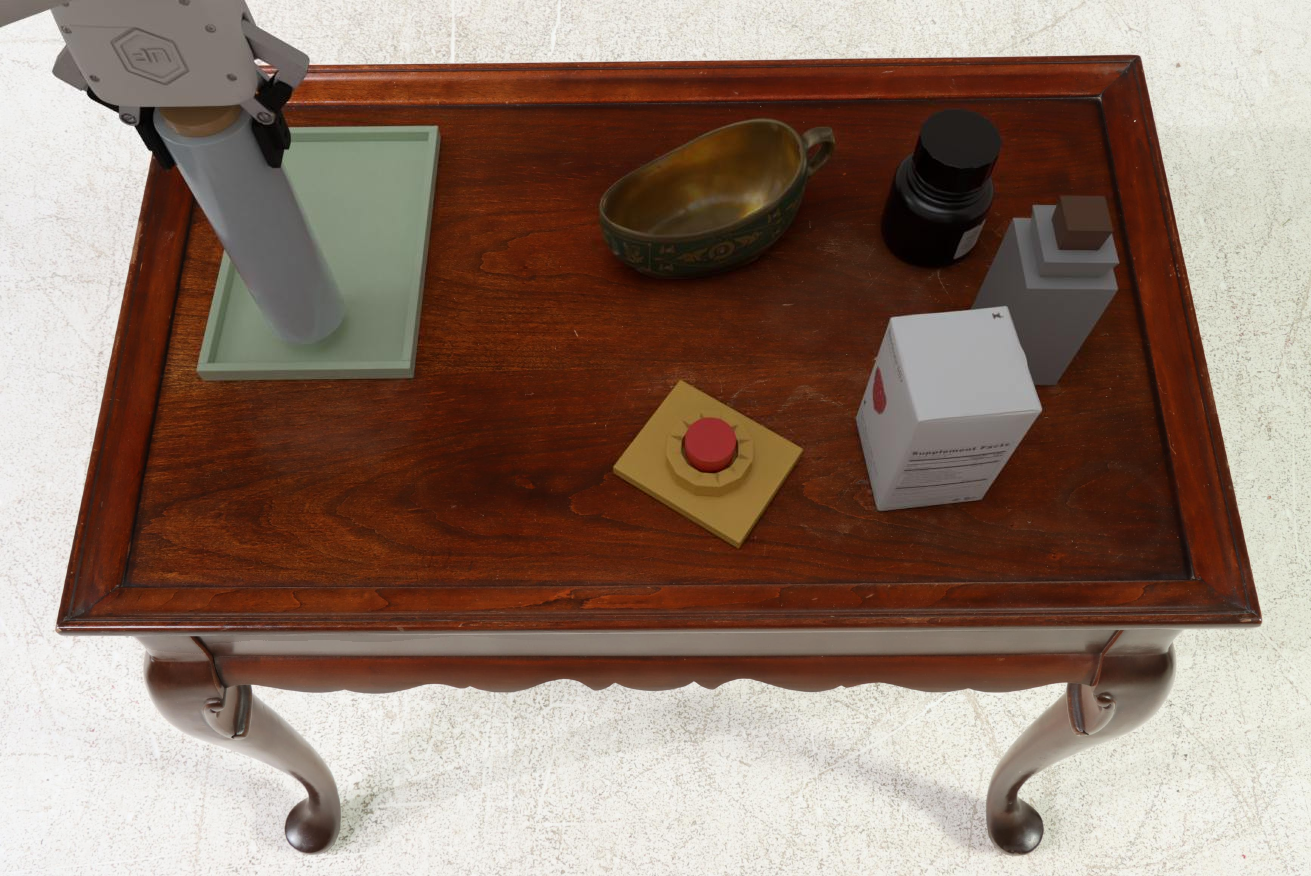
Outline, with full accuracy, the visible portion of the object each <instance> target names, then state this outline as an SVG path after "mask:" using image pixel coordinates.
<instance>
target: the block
mask: <svg viewBox="0 0 1311 876" xmlns="http://www.w3.org/2000/svg"><path fill="white" fill-rule="evenodd" d="M708 417H712V418H718V419H721V420H723V421H725V422H726V423H728V424H729V425H730V426H731V428H732V429H733V431H734V433H735V435H736V446H735V453H734V457H733V459H732V461H731V462H730V463H729V464H728V465H727V466H726V467H725V468H723V469H721V470H718V471H713V472H708V471H702V470H700V469H697V468H696V467H694V466H693V465H692V464H691V463H690V462H689V461H688V459H687V457H686V455H685V435H686V432H687V430H688V428H689V427H690V426H691V425H692V424H693V423H694V422H696V421H697V420H699V419H702V418H708ZM803 453H804V449H803V448H802V447H800V446H799V445H797V444H795V443H793V442H792V441H790V440H788V439H786V438H784V437H783V436H781V435H779V434H777V433H776V432H774V431H772V430H770V429H768V427H766V426H764V425H761V424H760V423H758V422H756V421H755V420H753V419H751V418H749V417H748V416H745V414H742V413H741V412H739V411H737V410H735V409H733V408H731V407H729V406H728V405H726V404H724V403H722V402H720V401H719V400H718V399H716V398H714V397H712V396H710V395H708V394H707V393H705V392H703V391H702V390H700V389H697V387H695V386H692V385H691V384H689V383H687V382H685V381H684V380H682V379H679V381H677V383H676V384H675V386H674V388H673V389H672V390H671V391H670V392H669V394H668V395H667V396H666V398H665V399H663V401H662V403H661V404H660V405H659V406H658V408H657V409H656V410H655V412H654V413H653V414H652V415H651V417H650V418H649V419H648V421H647V422H646V423H645V425H644V426H643V427H642V429H641V430H640V431H639V432H638V434H637V435H636V436H635V438H633V441H631V443H630V444H629V445H628V447H627V448H626V449H625V451H624V452H623V453H622V455H621V456H620V457H619V458H618V460H617V461H616V462H615V464H614V465H613V466H612V469H613V474H614V475H616V476H617V477H619V478H620V479H622V480H624V481H626V482H627V483H629V484H631V485H632V486H633V487H636V489H638V490H641V491H642V492H644V493H646V494H647V495H648V496H651V497H652V498H654V499H656V500H657V501H659V502H660V503H662V504H663V505H665V506H666V507H668V508H670V509H672V510H673V511H675V512H677V513H678V514H680V515H682V516H683V517H685V518H687V519H688V520H690V521H691V522H693V523H695V524H696V525H698V526H700V527H702V529H703V528H704V529H705V530H707V531H708V532H710V533H711V534H713V535H715V536H716V537H718V538H720V539H721V540H723V541H725V542H726V543H728V544H729V545H731V546H733V547H734V548H736V549H740V548H741V546H742V545H743V543H744V542H745V541H746V539H747V538H748V536H749V534H750V533H751V532H752V530H753V528H754V527H755V526H756V524H757V523H758V521H759V520H760V518H761V517H762V515H763V514H764V512H765V511H766V510H767V508H768V507H769V505H770V504H771V502H772V501H773V499H774V498H775V496H776V495H777V493H778V492H779V490H780V489H781V487H782V486H783V485H784V483H785V482H786V480H787V478H788V477H789V475H790V474H791V472H792V471H793V469H794V468H795V467H796V465H797V463H798V462H799V461H800V459H801V458H802V456H803Z"/></svg>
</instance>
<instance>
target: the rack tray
mask: <svg viewBox="0 0 1311 876" xmlns="http://www.w3.org/2000/svg"><path fill="white" fill-rule="evenodd" d="M288 128H289V130H290V134H291V144H290V148H289V150H284V155H283V162H284V165H285V167H286V169H287V171H288V174H289V176H290V178H291V181H292V183H293V185H294V187H295V190H296V192H297V194H298V196H299V199H300V201H301V203H302V205H303V208H304V210H305V212H306V214H307V217H308V219H309V221H310V224H311V226H312V228H313V230H314V233H315V235H316V237H317V239H318V242H319V244H320V246H321V248H322V251H323V253H324V255H325V258H326V260H327V262H328V264H329V267H330V269H331V271H332V273H333V276H334V278H335V280H336V282H337V285H338V287H339V289H340V291H341V294H342V296H343V298H344V301H345V315H344V318H343V320H342V322H341V324H340V325H339V327H338V328H337V329H336V330H335V331H334V332H333V333H332V334H330V335H329V336H327V337H326V338H324V339H322V340H320V341H317V342H314V343H310V344H291V343H288V342H285V341H283V340H281V339H279V338H278V337H276V336H275V335H274V334H273V333H272V331H271V330H270V328H269V326H268V325H267V323H266V321H265V319H264V318H263V316H262V314H261V312H260V311H259V309H258V307H257V305H256V304H255V302H254V300H253V298H252V297H251V295H250V293H249V291H248V290H247V288H246V286H245V284H244V283H243V281H242V279H241V277H240V276H239V274H238V272H237V270H236V269H235V267H234V265H233V263H232V262H231V260H230V258H229V256H228V255H227V253H226V251H225V249H224V248H223V249H224V250H223V254H222V257H221V262H220V267H219V271H218V274H217V275H218V276H217V280H216V284H215V288H214V293H213V297H212V301H211V304H210V310H209V312H208V313H209V314H208V317H207V323H206V327H205V331H204V336H203V339H202V344H201V348H200V352H199V356H198V361H197V366H196V373H197V374H198V376H199V377H200V378H201V380H202V381H204V382H205V381H206V382H208V381H209V382H210V381H211V382H212V381H213V382H214V381H215V382H217V381H283V380H284V381H286V380H290V381H291V380H293V381H295V380H365V379H367V380H368V379H369V380H371V379H378V380H379V379H380V380H381V379H414V378H415V370H416V369H415V368H416V360H417V353H418V352H417V351H418V343H419V342H418V341H419V335H420V334H419V333H420V325H421V315H422V309H423V307H422V306H423V299H424V298H423V297H424V290H425V282H426V281H425V280H426V272H427V263H428V253H429V245H430V238H431V237H430V236H431V230H432V229H431V228H432V220H433V210H434V202H435V201H434V200H435V192H436V183H437V175H438V166H439V157H440V150H441V149H440V148H441V139H442V137H441V134H440V129H439V126H438V125H395V126H394V125H389V126H387V125H385V126H383V125H382V126H380V125H379V126H288Z"/></svg>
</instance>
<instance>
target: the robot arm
mask: <svg viewBox="0 0 1311 876" xmlns="http://www.w3.org/2000/svg"><path fill="white" fill-rule="evenodd" d="M46 11H50V12H51V14H52V17H53V19H54V21H55V23H56V24H55V25H56V26H57V28H58V31H59V33H60V35H61V37H62V39H63V42H64V43H65V45H64V46H63V48H62V49H61V50H60V52H59V53H58V55H57V56H56V59H55V61H54V64H53V67H52V68H51V69H52V70H51V72H52V75H53V76H54V77H55V78H56V79H59V80H60V81H62V82H64V83H66V84H68V85H69V86H71V87H72V88H75V89H77V90H79V91H80V92H83V91H84V93H85V92H86V95H87V97H88V98H89V99H90V100H92V101H93V102H95V103H97V104H99V105H101V106H103V107H104V108H107V109H109V110H110V111H113V112H115V113H117V114H118V119H119V120H120V121H121V123H123V124H124V125H127V126H130V127H134V129H135V130H136V132H137V134H138V135H139V137H140V138H141V141H142V142H143V144H144V145H145V147H146V149H147V150H148V151H149V152H151V153H152V155H153V156H154V158H155V159H156V161H157V163H158V165H159V167H160V168H161V169H162V170H172V169H173V168H175V166H176V164H175V162H174V160H173V158H172V157H171V155H170V153H169V151H168V150H167V148H166V146H165V144H164V143H163V141H162V139H161V137H160V136H159V134H158V132H157V130H156V128H155V126H154V122H153V113H154V109H155V107H188V106H230V105H238V104H239V105H241V106H242V107H243V108H244V109H245V110H246V111H247V112H248V113H249V114H250V115H252V116H253V121H252V131H253V133H254V135H255V138H256V140H257V142H258V144H259V146H260V148H261V151H262V153H263V155H264V157H265V159H266V161H267V164H268V166H271V168H281V164H282V160H283V155H284V150H289V148H290V144H291V134H290V130H289V128H288V127H289V126H288V123H287V121H286V118H285V116H284V113H283V111H282V109H283V108H284V107H285V105H287V103H288V102H289V101H290V100H291V98H292V95H293V93H294V92H295V91H296V90H297V89H298V87H299V86H300V85H301V84H302V82H303V81H304V80H305V78H306V77H307V75H308V72H309V67H310V62H311V58H310V56H309V55H308V54H307V53H305V52H304V51H301V50H300V49H298V48H297V47H295V46H292V45H291V44H289V43H287V42H285V41H283V40H282V39H280V38H278V37H276V36H275V35H273V34H272V33H269V32H268V31H266V30H265V29H262V28H260V27H259V26H257V23H256V21H255V19H254V17H253V15H252V12H251V11H250V8H249V6H248V4H247V2H246V0H0V28H3V27H6V26H8V25H11V24H14V23H17V22H19V21H21V20H25V19H28V18H30V17H33V16H37V15H39V14H42V13H44V12H46ZM257 60H260V61H261V62H263V63H265V64H267V65H269V66H270V67H273V68H275V69H276V71H275V72H274V73H273V75H272V76H270V75H268V73H266V72H265V71H264V70H263V69H262V67H260V66H259V65H258V64H257V63H256V62H255V61H257Z"/></svg>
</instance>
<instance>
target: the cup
mask: <svg viewBox="0 0 1311 876" xmlns="http://www.w3.org/2000/svg"><path fill="white" fill-rule="evenodd" d="M818 144H821V145H820V147H819V149H818V150H817V152H816V153H815V154H814V155H813V157H812V158H811V159H810V160H809V152H810V150H811V149H812V148H813V147H814V146H816V145H818ZM835 150H836V139H835V136H834V134H833V128H832V127H830V126H816V127H813V128H810V129H808V130H806V131H804V133H803V134H802V136H800V134H799V133H798V132H797V130H795V128H793V127H792V126H791V125H789V124H788V123H786V122H784V121H781V120H779V119H776V118H775V119H774V118H765V117H762V118H761V117H760V118H759V117H757V118H751V119H747V120H741V121H737V122H733V123H729V124H727V125H724V126H720V127H718V128H716V129H713V130H711V131H708V132H706V133H704V134H702V135H700V136H698V137H696V138H694V139H692V140H690V141H687V142H686V143H684V144H682V145H680V146H679V147H677V148H674V149H672V150H671V151H668V152H667V153H665V154H663V155H660V156H659V157H657V158H655V159H654V160H652V161H649V162H648V163H646V164H644V165H642V166H640V167H638V168H635V169H634V170H633V171H631V172H629V173H627V174H625V175H624V176H622V177H621V178H620V179H618V180H617V181H615V182H614V183H613V184H612V185H610V187H609V188H607V189H606V191H604V193H603V195H602V197H601V198H600V201H599V205H598V221H599V226H600V231H601V234H602V239H603V240H604V242H605V244H606V246H607V247H608V249H609V250H610V251H611V252H612V254H613V255H614V256H615V257H616V258H618V259H619V260H620V261H621V262H623V263H624V264H625V265H627V266H629V267H631V268H633V269H635V270H636V271H638V272H639V273H641V274H643V275H645V276H648V277H650V278H655V279H661V280H662V279H664V280H665V279H666V280H686V279H687V280H688V279H698V278H704V277H710V276H715V275H720V274H723V273H727V272H731V271H734V270H736V269H739V268H742V267H744V266H747V265H749V264H751V263H754V262H755V261H757V260H759V258H760V257H762V256H763V255H764V253H765V252H767V251H769V249H770V248H772V246H773V245H774V244H775V243H776V242H777V241H778V240H779V239H780V238H781V237H782V236H783V234H784V233H785V232H786V231H787V230H788V228H789V227H790V226H791V223H792V222H793V220H794V219H795V217H796V215H797V213H798V211H799V209H800V206H801V204H802V201H803V200H804V198H803V197H804V196H805V191H806V186H807V182H808V181H809V180H811V178H812V177H813V176H815V174H817V173H818V171H819V170H821V169H822V168H823V166H825V165H826V164H827V162H828V161H829V160H830V159H831V157H832V156H833V154H834V152H835Z"/></svg>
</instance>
